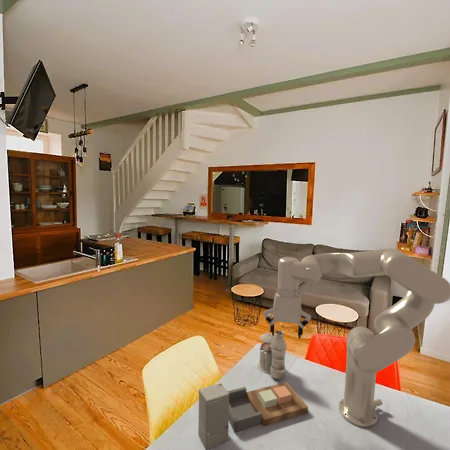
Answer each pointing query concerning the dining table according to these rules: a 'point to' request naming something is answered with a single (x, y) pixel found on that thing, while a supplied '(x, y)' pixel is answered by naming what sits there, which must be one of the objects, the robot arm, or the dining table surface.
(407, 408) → the dining table surface
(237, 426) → the box
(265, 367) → the french press
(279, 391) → the tile
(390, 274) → the robot arm
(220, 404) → the skincare box
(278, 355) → the metal bottle
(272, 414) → the walnut plate
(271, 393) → the tile
